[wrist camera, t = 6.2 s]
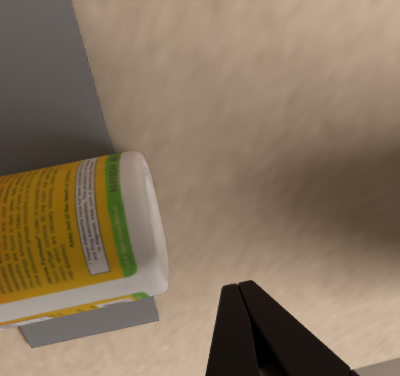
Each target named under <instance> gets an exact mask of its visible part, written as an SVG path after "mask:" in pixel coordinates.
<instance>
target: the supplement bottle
mask: <svg viewBox="0 0 400 376" xmlns="http://www.w3.org/2000/svg"><path fill="white" fill-rule="evenodd" d="M168 285H169V266H168V255H167V246H166V240H165V234H164V229H163V225H162V220H161V216H160V211H159V206H158V202H157V197H156V193H155V189H154V185H153V181H152V177H151V173H150V170H149V167H148V164H147V162H146V160H145V158H144V156H143V155H142V154H141V153H139V152H137V151H128V152H122V153H116V154H111V155H106V156H101V157H96V158H91V159H86V160H81V161H76V162H71V163H66V164H61V165H56V166H51V167H46V168H41V169H36V170H31V171H26V172H21V173H16V174H11V175H5V176H0V330H3V329H8V328H12V327H17V326H21V325H25V324H30V323H34V322H39V321H44V320H48V319H53V318H57V317H62V316H66V315H71V314H76V313H80V312H85V311H89V310H94V309H99V308H103V307H108V306H113V305H117V304H122V303H126V302H130V301H135V300H140V299H144V298H148V297H151V296H155V295H159V294H161V293H163V292H165V291H166V290H167V288H168Z"/></svg>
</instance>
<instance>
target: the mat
mask: <svg viewBox="0 0 400 376" xmlns="http://www.w3.org/2000/svg"><path fill="white" fill-rule="evenodd" d="M111 154H114V153H113V150H112V146H111V143H110V139H109V135H108V132H107V128H106V125H105V121H104V117H103V114H102V110H101V107H100V103H99V99H98V96H97V92H96V89H95V85H94V81H93V78H92V74H91V70H90V67H89V63H88V60H87V56H86V52H85V49H84V45H83V42H82V38H81V34H80V31H79V27H78V24H77V20H76V16H75V13H74V9H73V6H72V2H71V0H0V176H5V175H11V174H16V173H21V172H26V171H31V170H36V169H41V168H46V167H51V166H56V165H61V164H66V163H71V162H76V161H81V160H86V159H91V158H96V157H101V156H106V155H111ZM155 321H159V316H158V312H157V309H156V305H155V301H154V298H153V296H151V297H148V298H144V299H140V300H135V301H130V302H126V303H122V304H117V305H113V306H108V307H103V308H99V309H94V310H89V311H85V312H80V313H76V314H71V315H66V316H62V317H57V318H53V319H48V320H44V321H39V322H34V323H30V324H25V325H21V326H19V327H20V329H21V331H22V333H23V334H24V336H25V338H26V340H27V342H28V343H29V345H30V347H31V348H35V347H40V346H44V345H49V344H54V343H58V342H63V341H68V340H72V339H77V338H81V337H86V336H91V335H95V334H100V333H104V332H109V331H114V330H118V329H123V328H127V327H132V326H137V325H141V324H146V323H150V322H155Z"/></svg>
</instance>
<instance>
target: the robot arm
mask: <svg viewBox="0 0 400 376" xmlns="http://www.w3.org/2000/svg"><path fill="white" fill-rule="evenodd" d="M205 376H359V375H358V374H357V373H356V372H355V371H354V370H350V367H349V366H348V365H347V364H346V363H345V362H344V361H343V360H341V359H340V358H339V357H338V356H337V355H336V354H335V353H334V352H332V351H331V350H330V349H329V348H328V347H327V346H326V345H325V344H323V343H322V342H321V341H320V340H319V339H318V338H317V337H316V336H315V335H313V334H312V333H311V332H310V331H309V330H308V329H307V328H306V327H304V326H303V325H302V324H301V323H300V322H299V321H298V320H297V319H295V318H294V317H293V316H292V315H291V314H290V313H289V312H288V311H286V310H285V309H284V308H283V307H282V306H281V305H280V304H279V303H278V302H276V301H275V300H274V299H273V298H272V297H271V296H270V295H269V294H267V293H266V292H265V291H264V290H263V289H262V288H261V287H260V286H258V285H257V284H256V283H255V282H254V281H252V280H248V281H244V282H239V283H238V285H237V284H236V283H234V284H229V285H224V286H223V287H222V289H221V295H220V300H219V305H218V311H217V316H216V321H215V327H214V332H213V337H212V343H211V348H210V353H209V359H208V364H207V369H206V374H205Z"/></svg>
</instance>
